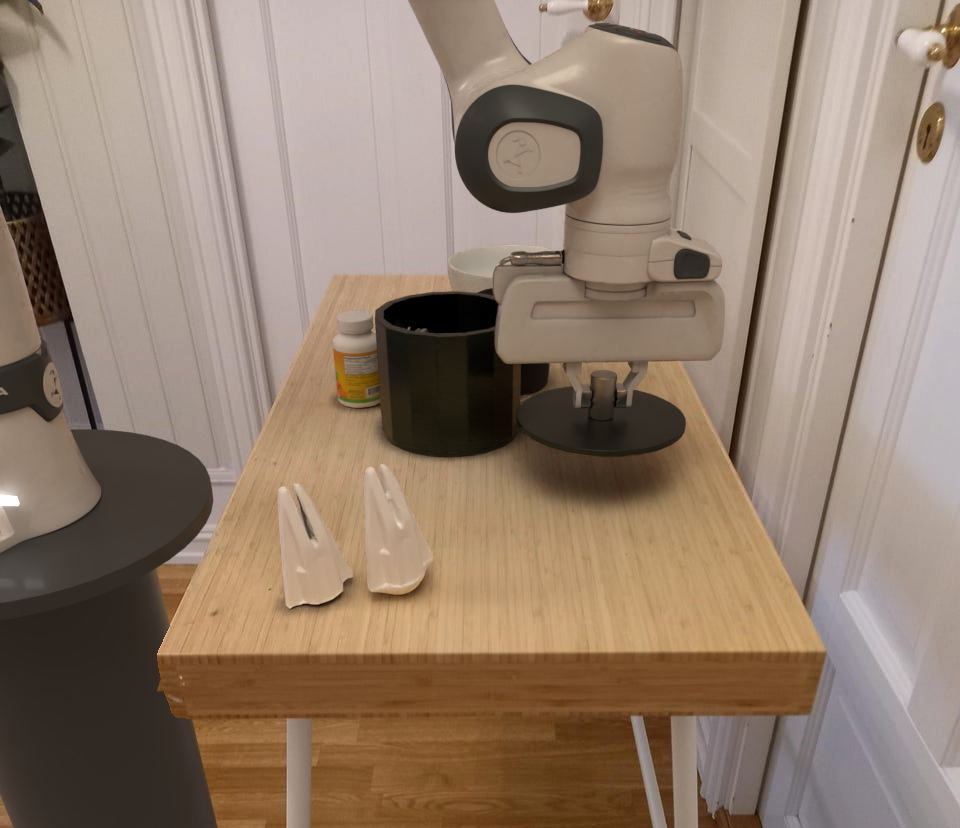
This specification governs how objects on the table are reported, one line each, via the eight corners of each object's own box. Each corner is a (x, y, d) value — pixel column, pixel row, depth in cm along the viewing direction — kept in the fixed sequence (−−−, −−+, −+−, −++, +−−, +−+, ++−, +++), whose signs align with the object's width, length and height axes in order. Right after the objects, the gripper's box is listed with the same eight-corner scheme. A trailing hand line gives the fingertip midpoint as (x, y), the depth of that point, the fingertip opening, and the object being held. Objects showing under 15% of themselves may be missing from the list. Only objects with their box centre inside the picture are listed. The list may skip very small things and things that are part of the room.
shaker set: (434, 574, 81) (429, 451, 74) (436, 601, 77) (431, 475, 71) (289, 581, 80) (271, 458, 73) (285, 609, 76) (266, 482, 70)
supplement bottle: (341, 391, 114) (334, 308, 109) (387, 391, 114) (381, 308, 109) (334, 408, 110) (326, 323, 104) (381, 409, 110) (375, 323, 104)
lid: (525, 465, 84) (527, 408, 81) (508, 398, 97) (510, 346, 94) (703, 461, 85) (711, 405, 82) (663, 395, 98) (669, 344, 95)
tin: (382, 459, 99) (373, 338, 92) (383, 404, 111) (376, 293, 104) (525, 454, 100) (528, 333, 92) (511, 400, 112) (513, 289, 104)
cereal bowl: (440, 296, 146) (439, 246, 141) (548, 289, 148) (549, 240, 144) (459, 331, 132) (458, 278, 128) (577, 323, 134) (579, 271, 130)
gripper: (496, 261, 79) (493, 421, 87) (741, 258, 80) (716, 417, 88) (490, 242, 84) (488, 395, 92) (721, 240, 85) (699, 391, 93)
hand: (601, 406), depth 90 cm, fingers closed on lid, 2 cm apart
